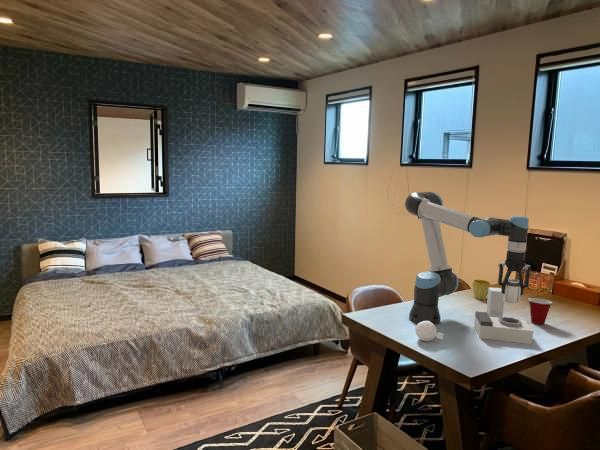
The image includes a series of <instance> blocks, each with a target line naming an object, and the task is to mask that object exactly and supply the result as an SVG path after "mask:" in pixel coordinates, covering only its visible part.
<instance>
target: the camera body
mask: <svg viewBox="0 0 600 450" xmlns="http://www.w3.org/2000/svg"><path fill="white" fill-rule="evenodd" d="M473 325H474V326H473V328H474V331H475V333H476V334H477V336H479V337H478V338H479V339H482V340H483V339H485V340H494V341H501V342H502V341H503V342H510V343H511V342H512V343H519V344H521V343H522V344H529V345H530V344H531V345H532V343H533V336H534V329H532V327H531V326H530V325H529V324H528V323H527V321H526V320H523V319H518V318H514V317H508V316H503V317H501V318H497V317H489V315H488V314H487V311H486V312H485V311H477V310H476V311H475V315H474V324H473Z"/></svg>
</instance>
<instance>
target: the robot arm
mask: <svg viewBox="0 0 600 450" xmlns="http://www.w3.org/2000/svg"><path fill="white" fill-rule="evenodd" d="M404 206H405V210H406V212H408V213H409V214H411V215H412V216H416V217H417V219H418V221H420V222H421V224H422V231H423V235H424V239H425V245H426V250H427V255H428V259H429V265H430V268H429V270H428V271H423V272H419V273H418V274H417V275H415V281H414V294H413V295H414V297H413V303H412V306H411V309H410V312H409V314H408V319H409V320H410V321H412V322H413V323H416V324H418V323H420V322H422V321H430V322H431V323H433V324H434V326H435V325H439V324H440V323H441V314H440V309H439V299H440V298H441V297H444V296H449V295H451V294H453V293H454V292H455V293H456V291H457V289H458V287H459V283H460V281H459V278H458V276H457V274H455V272H454V271H453V269H452V266H451V265H449V264H448V259H447V255H446V249H445V244H444V239H443V233H442V229H441V224H443V225H444V224H445V225H448V226H451V227H453V228H456V229H459V230H461V231H464V232H467V233H470V235H471V236H473V237H475V238H485V237H490V236H503V237H504V236H505V237H508V238H507V247H506V248H507V251H506V256H505V257H506V258H505V260H504V262H498V268H499V270H498V277H497V279H498V280H497V284H498V285H499V286H501V289H502V290H501V292H502V294H503V300H504V302H505V301H506V296H507V282H508V279H510V276H511V274H512V272H516V273H517V278H518V279H517V280H519V290H518V300H517V304H520V300H521V296H523V295H524V289H526V288H529V286H530V285H529V284H530V283H529V282H530V273H531V270H532V266H531V265H530V264H527V263H526V251H527V241H528V235H529V234H528V233H529V224H530V223H529V222H530V221H529V218H528V217H527V216H524V215H523V216H522V215H511V216H510V218H509V219H506V218H497V217H489V216H488V217H485V218H480V217H477V216H475V215H474V216H473V215H471V214H468V213H464V212H462V211H459V210H456V209H452V208H450V207H446V206H444V202H443V199H442V197H441V196H440V195H439V194H438V193H436V192H432V191H422V192H419V191H416V192H412V193H410V194H409V195H408V196H407V197H406V199H405V201H404ZM440 223H441V224H440ZM505 266H506V268H507V269H506V273H505V276H504V277H503V275H504V269H505ZM523 269H525V272H524V280H523V275H522V274H523V273H522V270H523Z"/></svg>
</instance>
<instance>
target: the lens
mask: <svg viewBox="0 0 600 450" xmlns="http://www.w3.org/2000/svg"><path fill="white" fill-rule="evenodd" d="M506 286H507V296H506V301H504V303H505V302H506V303H508V304H515V305H516V304H518V302H517V300H518V290H519V287H520V285H519V279H516V278H509V279H508V282H507V284H506Z"/></svg>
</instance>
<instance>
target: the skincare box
mask: <svg viewBox="0 0 600 450" xmlns="http://www.w3.org/2000/svg"><path fill="white" fill-rule="evenodd" d="M501 290H502V287H501V288H500V287H491V288H488V294H487V300H486V301H487V303H486V312H487V314H488V315H489V317H497V318H501V317H504V305H505V301H504V300H503V294H502V292H501Z"/></svg>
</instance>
